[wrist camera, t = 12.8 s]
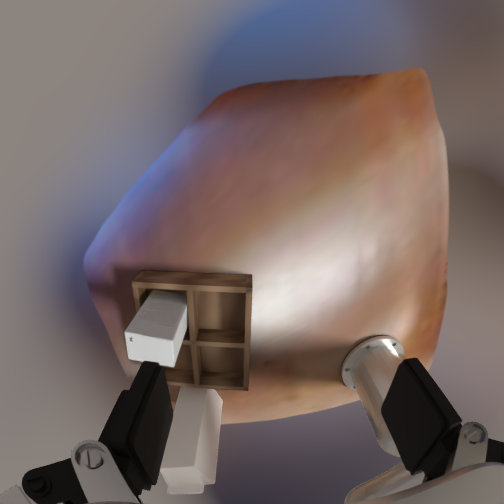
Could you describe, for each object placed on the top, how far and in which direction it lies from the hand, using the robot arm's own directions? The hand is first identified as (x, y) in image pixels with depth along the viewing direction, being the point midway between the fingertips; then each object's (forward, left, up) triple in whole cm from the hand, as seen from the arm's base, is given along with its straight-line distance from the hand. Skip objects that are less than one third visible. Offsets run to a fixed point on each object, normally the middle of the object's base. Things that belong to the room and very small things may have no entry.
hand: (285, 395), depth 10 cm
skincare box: (+13, +12, -30) cm, 34 cm away
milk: (+9, +31, -31) cm, 45 cm away
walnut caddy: (+9, +16, -30) cm, 35 cm away
